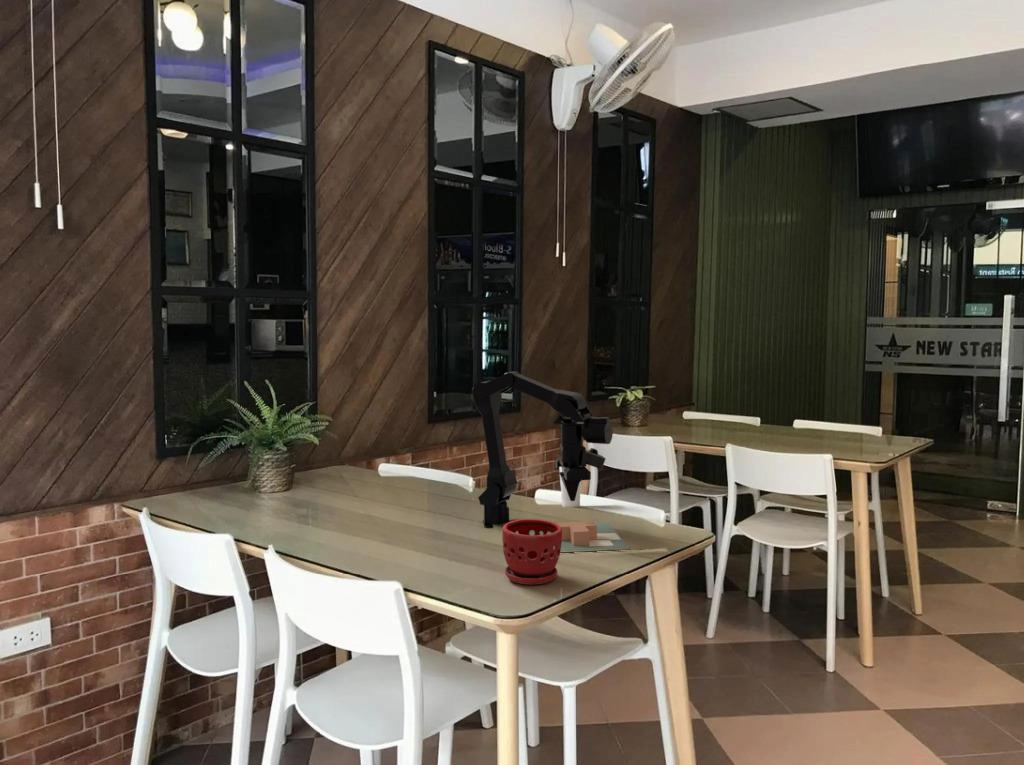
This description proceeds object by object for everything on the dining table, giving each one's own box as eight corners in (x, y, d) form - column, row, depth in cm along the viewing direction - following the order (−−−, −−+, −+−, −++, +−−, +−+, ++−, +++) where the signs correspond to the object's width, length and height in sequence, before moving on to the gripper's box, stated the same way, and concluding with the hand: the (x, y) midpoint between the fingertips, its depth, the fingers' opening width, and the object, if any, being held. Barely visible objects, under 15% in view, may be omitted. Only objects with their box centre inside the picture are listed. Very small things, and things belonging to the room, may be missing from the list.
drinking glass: (580, 510, 248) (580, 460, 246) (557, 509, 249) (557, 459, 248) (583, 505, 254) (583, 455, 253) (561, 504, 256) (561, 455, 254)
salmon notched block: (561, 546, 209) (561, 532, 209) (555, 536, 218) (555, 523, 218) (601, 544, 210) (601, 530, 210) (593, 534, 219) (593, 521, 219)
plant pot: (493, 585, 184) (493, 530, 182) (515, 567, 196) (514, 516, 195) (551, 591, 179) (551, 536, 178) (569, 573, 191) (569, 521, 190)
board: (537, 554, 205) (537, 551, 205) (524, 528, 229) (524, 525, 229) (630, 550, 208) (630, 547, 207) (608, 525, 231) (608, 522, 231)
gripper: (610, 446, 212) (610, 507, 214) (595, 435, 231) (595, 491, 232) (566, 448, 211) (567, 509, 213) (554, 436, 230) (555, 493, 231)
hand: (572, 500), depth 222 cm, fingers closed
